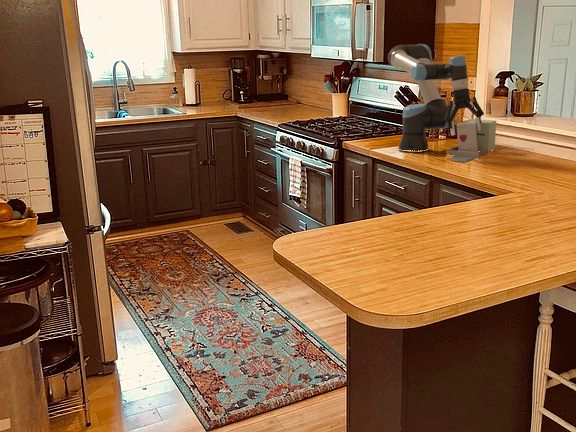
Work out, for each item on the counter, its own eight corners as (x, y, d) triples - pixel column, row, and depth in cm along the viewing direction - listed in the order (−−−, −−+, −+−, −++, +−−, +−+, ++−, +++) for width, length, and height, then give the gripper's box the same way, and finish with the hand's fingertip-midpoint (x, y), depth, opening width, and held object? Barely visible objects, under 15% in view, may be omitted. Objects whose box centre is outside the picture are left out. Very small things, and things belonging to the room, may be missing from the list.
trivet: (436, 159, 300) (436, 158, 300) (449, 154, 310) (449, 154, 310) (464, 162, 291) (464, 161, 291) (476, 157, 302) (476, 156, 302)
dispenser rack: (478, 158, 300) (479, 127, 296) (446, 155, 310) (447, 124, 306) (496, 150, 318) (498, 120, 314) (466, 147, 328) (467, 119, 324)
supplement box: (458, 155, 309) (455, 125, 305) (459, 152, 317) (456, 122, 313) (478, 153, 306) (475, 122, 302) (478, 150, 314) (475, 120, 310)
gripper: (440, 91, 294) (446, 136, 297) (488, 84, 299) (493, 128, 302) (433, 93, 301) (438, 137, 304) (479, 86, 306) (484, 129, 309)
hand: (465, 133), depth 303 cm, fingers open, 13 cm apart
